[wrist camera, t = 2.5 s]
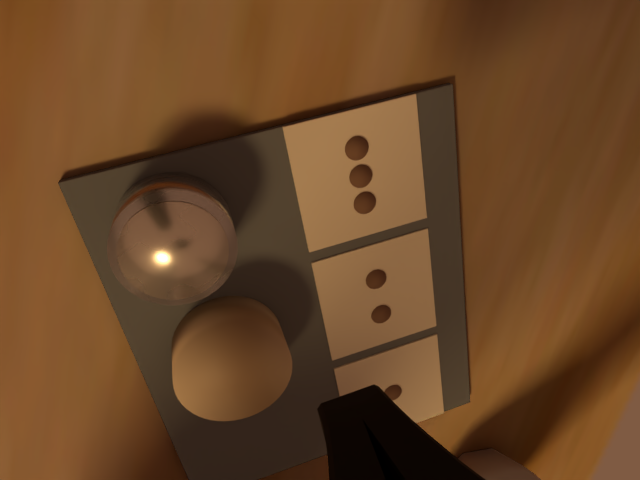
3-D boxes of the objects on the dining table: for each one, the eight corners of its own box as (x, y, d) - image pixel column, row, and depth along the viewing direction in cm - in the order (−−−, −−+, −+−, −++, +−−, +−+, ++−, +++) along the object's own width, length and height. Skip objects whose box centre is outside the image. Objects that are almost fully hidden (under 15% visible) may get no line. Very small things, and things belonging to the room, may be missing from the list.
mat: (198, 495, 24) (198, 503, 24) (59, 180, 17) (57, 184, 17) (466, 398, 27) (471, 403, 26) (449, 82, 19) (454, 84, 19)
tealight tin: (143, 292, 19) (139, 324, 17) (92, 195, 17) (82, 219, 15) (246, 254, 19) (254, 282, 17) (208, 155, 18) (212, 174, 16)
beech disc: (189, 400, 22) (192, 436, 20) (156, 315, 20) (155, 346, 18) (291, 367, 22) (302, 398, 21) (268, 281, 20) (279, 308, 19)
